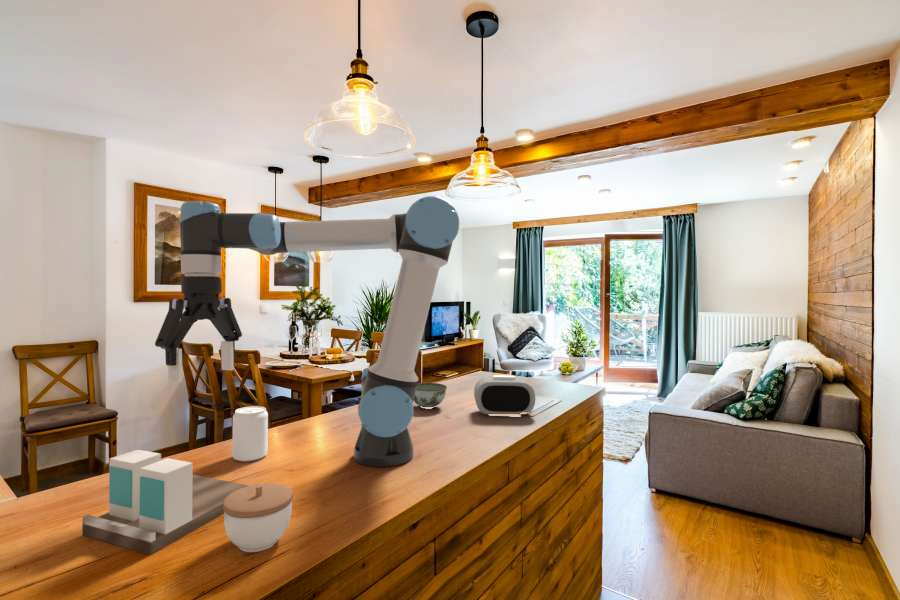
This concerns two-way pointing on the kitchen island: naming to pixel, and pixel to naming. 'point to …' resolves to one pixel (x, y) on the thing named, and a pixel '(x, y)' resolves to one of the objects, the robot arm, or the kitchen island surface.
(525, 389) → the alarm clock
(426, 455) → the kitchen island surface
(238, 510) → the lidded jar
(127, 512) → the tall carton
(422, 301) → the robot arm
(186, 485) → the faced carton
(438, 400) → the bowl
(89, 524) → the shelf board
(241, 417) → the beverage can
